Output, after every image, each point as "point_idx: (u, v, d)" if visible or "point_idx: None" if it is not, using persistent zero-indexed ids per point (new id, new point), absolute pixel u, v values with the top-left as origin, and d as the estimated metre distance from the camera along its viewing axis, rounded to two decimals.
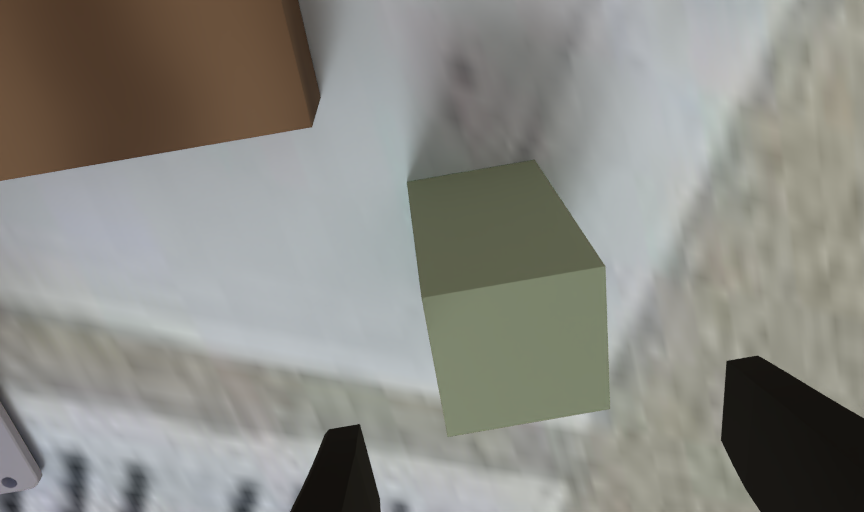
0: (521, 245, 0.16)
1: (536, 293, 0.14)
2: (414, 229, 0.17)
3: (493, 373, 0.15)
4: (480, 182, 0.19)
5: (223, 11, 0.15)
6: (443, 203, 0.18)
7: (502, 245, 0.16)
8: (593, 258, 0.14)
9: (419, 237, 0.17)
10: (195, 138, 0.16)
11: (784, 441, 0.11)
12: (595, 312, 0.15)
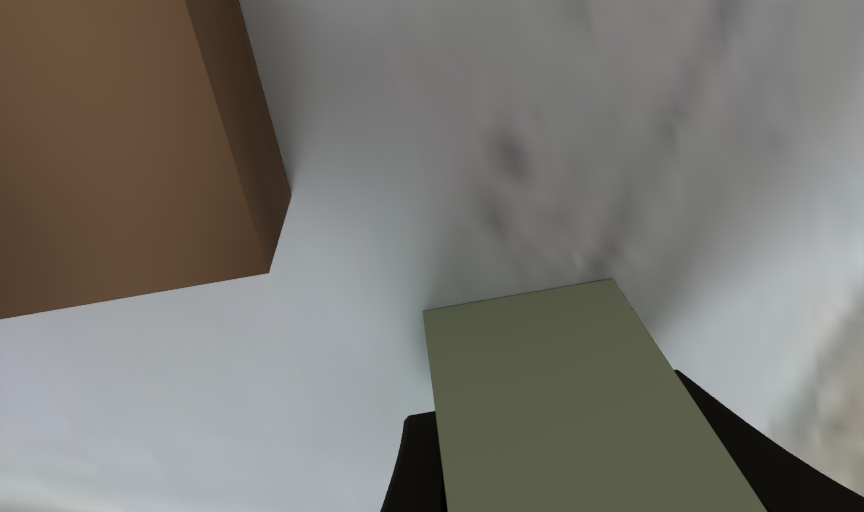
0: (631, 494, 0.09)
1: None
2: (439, 427, 0.11)
3: None
4: (536, 322, 0.13)
5: (102, 87, 0.08)
6: (483, 366, 0.12)
7: (597, 490, 0.09)
8: None
9: (448, 451, 0.10)
10: (70, 293, 0.09)
11: None
12: None
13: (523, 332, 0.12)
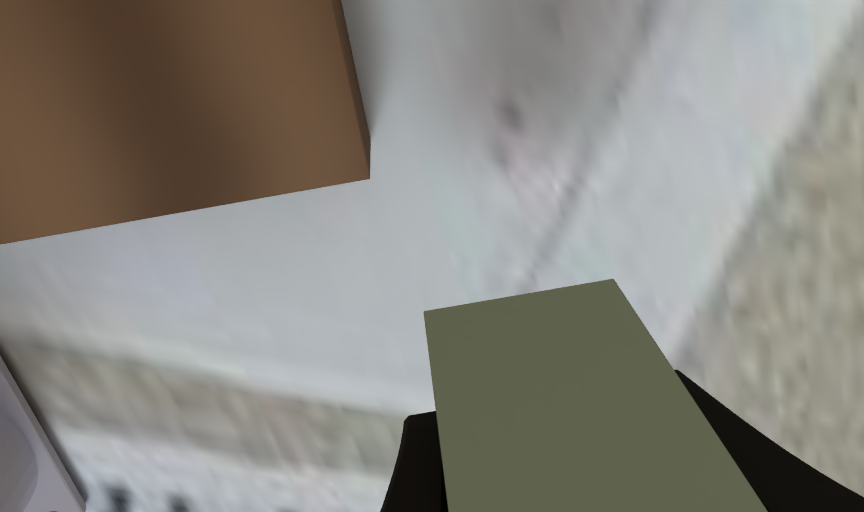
0: (632, 494, 0.09)
1: None
2: (440, 427, 0.11)
3: None
4: (537, 322, 0.13)
5: (287, 69, 0.15)
6: (484, 367, 0.12)
7: (598, 491, 0.09)
8: None
9: (449, 451, 0.10)
10: (254, 190, 0.16)
11: None
12: None
13: (524, 332, 0.12)
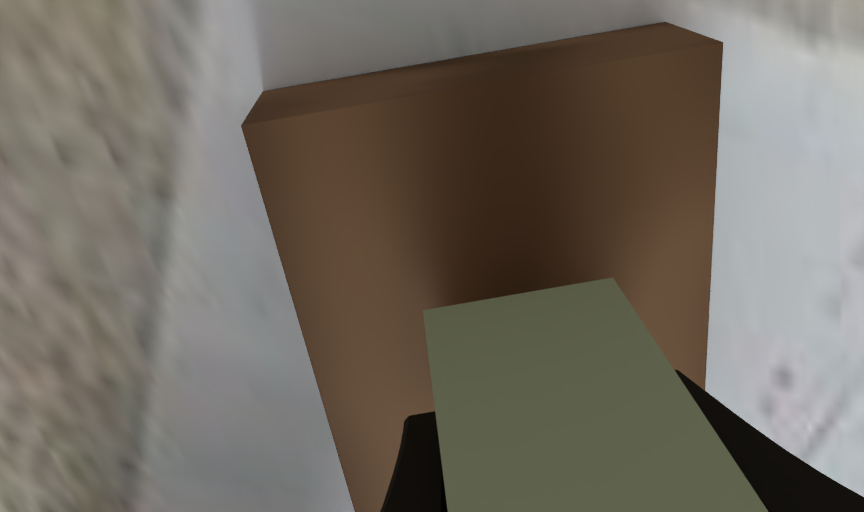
0: (631, 492, 0.09)
1: None
2: (439, 426, 0.11)
3: None
4: (536, 321, 0.13)
5: None
6: (483, 365, 0.12)
7: (597, 489, 0.09)
8: None
9: (447, 450, 0.10)
10: None
11: None
12: None
13: (523, 331, 0.12)
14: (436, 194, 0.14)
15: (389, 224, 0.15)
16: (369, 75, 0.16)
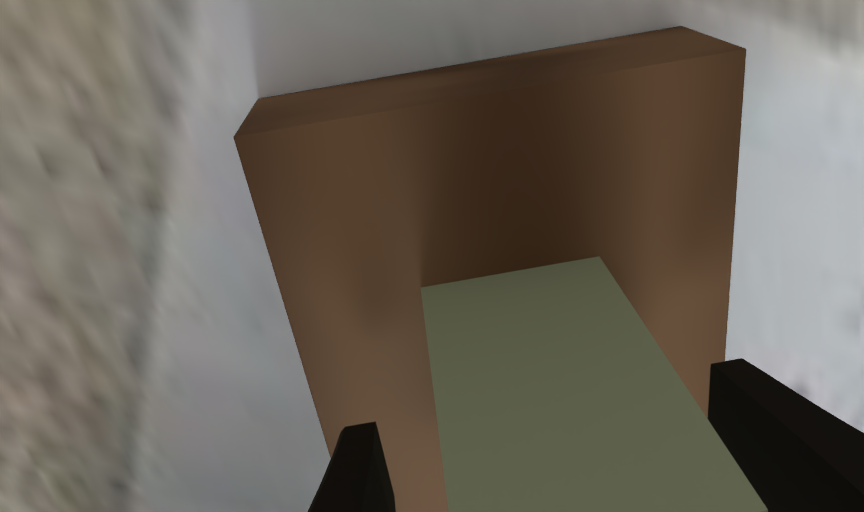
0: (609, 442, 0.10)
1: None
2: (435, 388, 0.11)
3: None
4: (526, 296, 0.14)
5: None
6: (476, 335, 0.13)
7: (578, 440, 0.10)
8: (741, 486, 0.09)
9: (442, 408, 0.11)
10: None
11: (766, 445, 0.11)
12: None
13: (514, 305, 0.13)
14: (441, 209, 0.14)
15: (390, 240, 0.14)
16: (370, 82, 0.15)
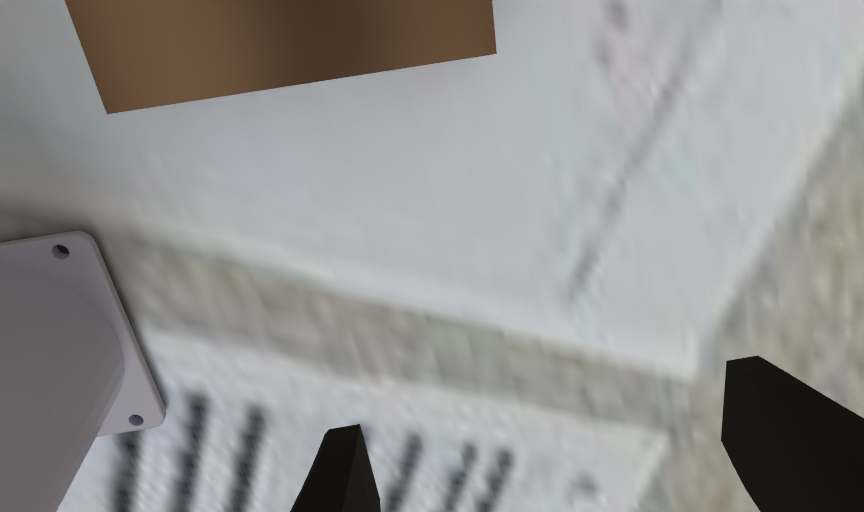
0: None
1: None
2: None
3: None
4: None
5: None
6: None
7: None
8: None
9: None
10: (384, 62, 0.17)
11: (784, 442, 0.11)
12: None
13: None
14: None
15: None
16: None
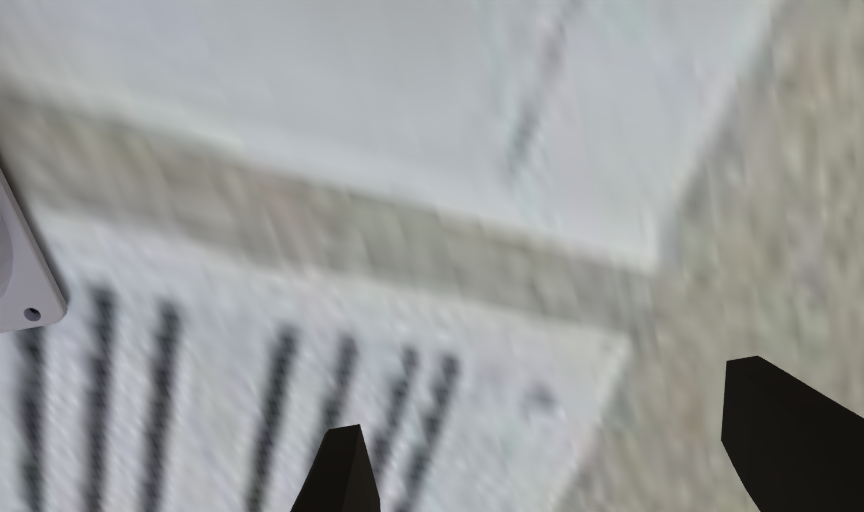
0: None
1: None
2: None
3: None
4: None
5: None
6: None
7: None
8: None
9: None
10: None
11: (785, 442, 0.11)
12: None
13: None
14: None
15: None
16: None
